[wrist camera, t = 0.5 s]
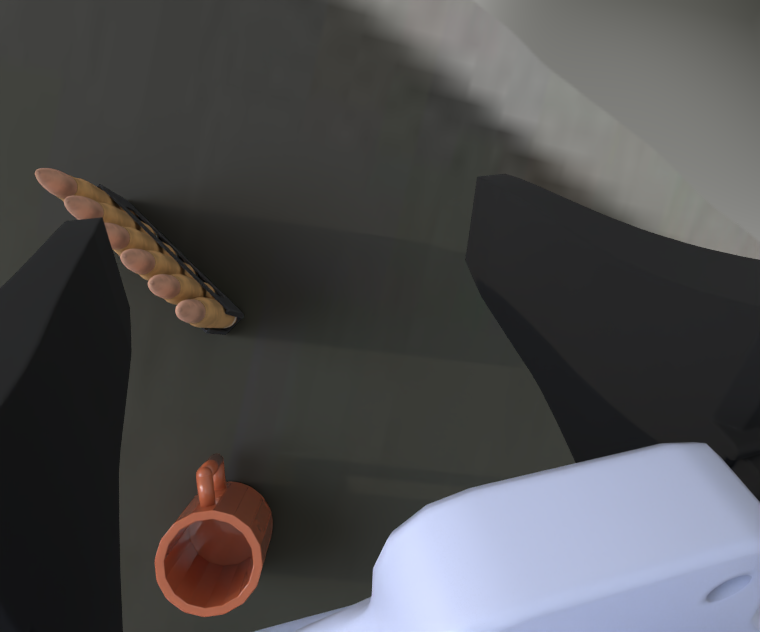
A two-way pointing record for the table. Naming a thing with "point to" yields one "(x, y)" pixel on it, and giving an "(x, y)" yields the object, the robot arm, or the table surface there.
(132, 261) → the ammunition clip
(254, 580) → the terracotta cup
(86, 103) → the table surface
